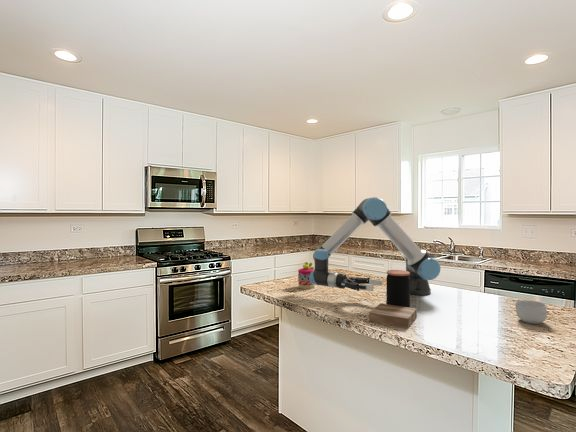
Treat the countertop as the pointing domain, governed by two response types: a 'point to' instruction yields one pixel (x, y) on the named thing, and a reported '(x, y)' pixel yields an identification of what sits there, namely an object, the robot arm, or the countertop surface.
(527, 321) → the teacup
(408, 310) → the walnut base block
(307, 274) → the cake
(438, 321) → the countertop surface
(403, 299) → the coffee jar
